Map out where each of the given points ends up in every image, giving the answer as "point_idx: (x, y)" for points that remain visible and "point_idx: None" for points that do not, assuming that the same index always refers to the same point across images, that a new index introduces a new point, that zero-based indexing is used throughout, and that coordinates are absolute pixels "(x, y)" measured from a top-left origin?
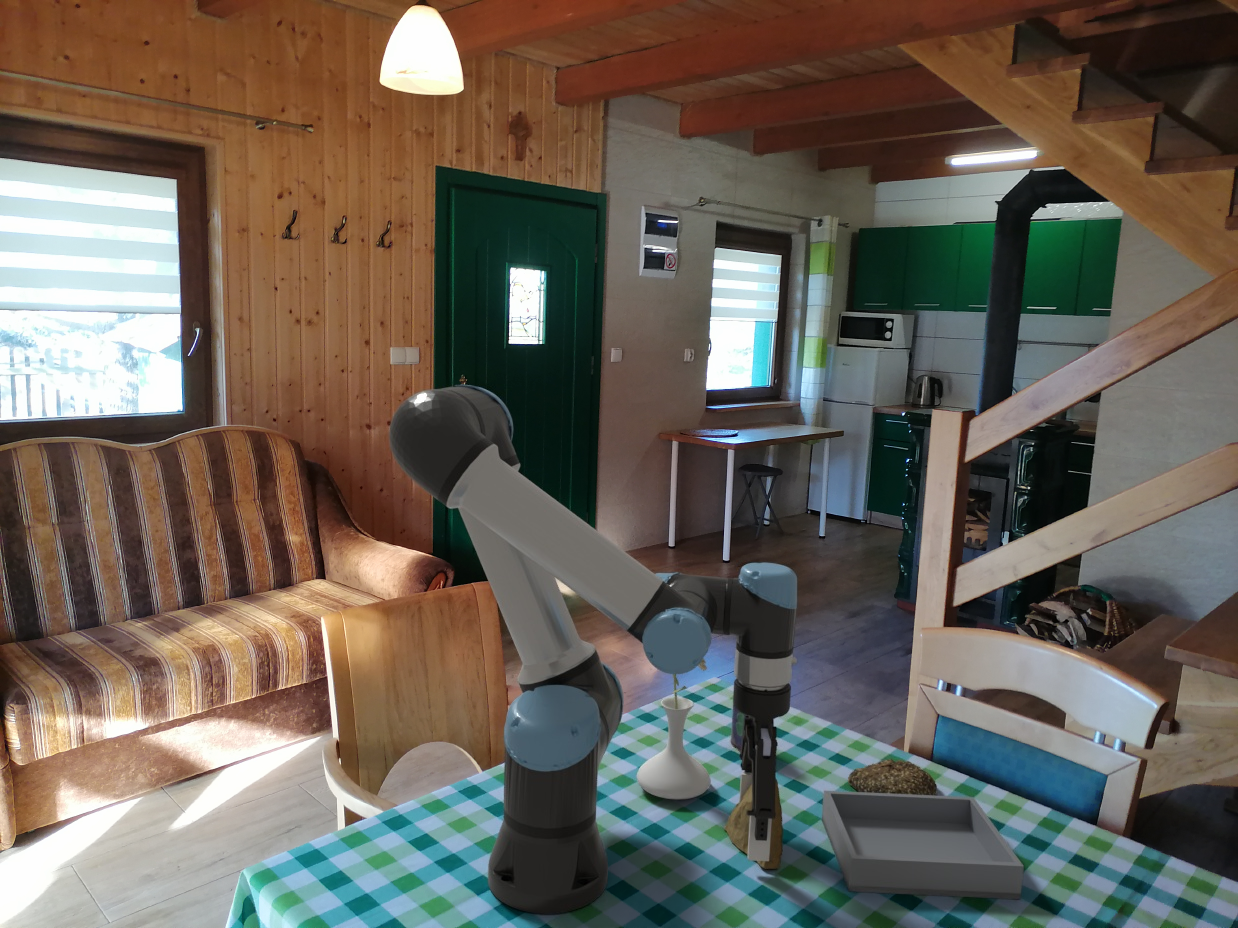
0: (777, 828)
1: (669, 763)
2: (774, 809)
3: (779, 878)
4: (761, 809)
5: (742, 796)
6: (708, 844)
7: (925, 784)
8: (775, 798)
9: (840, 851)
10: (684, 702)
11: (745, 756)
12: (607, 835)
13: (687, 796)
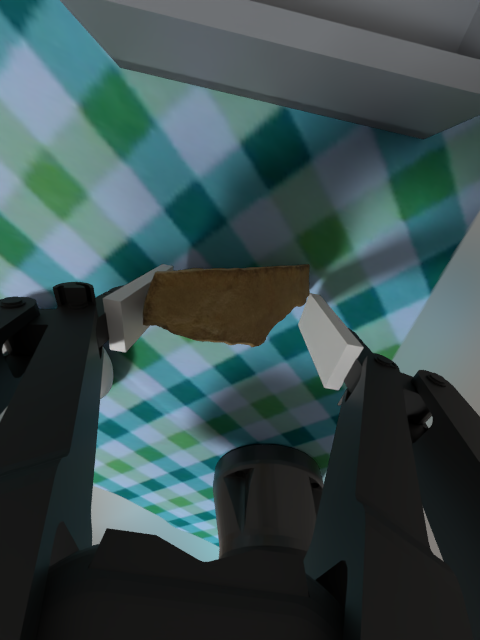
0: (293, 280)
1: None
2: (461, 398)
3: (330, 273)
4: (423, 420)
5: None
6: (221, 345)
7: None
8: (242, 287)
9: (344, 99)
10: None
11: (99, 403)
12: (197, 431)
13: (107, 356)
